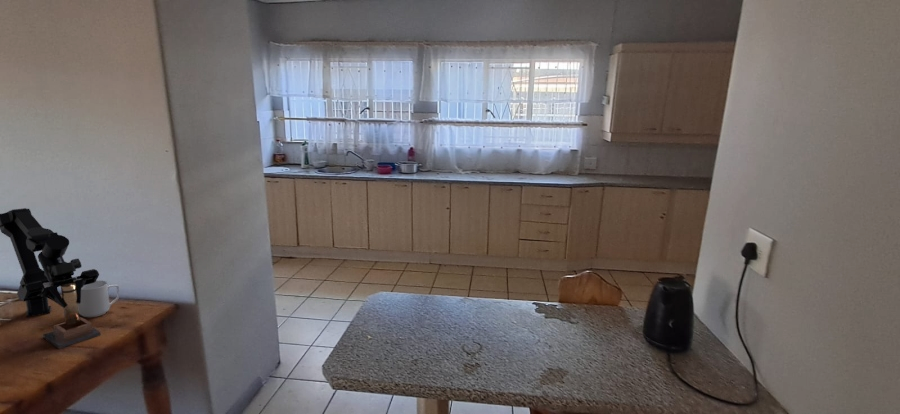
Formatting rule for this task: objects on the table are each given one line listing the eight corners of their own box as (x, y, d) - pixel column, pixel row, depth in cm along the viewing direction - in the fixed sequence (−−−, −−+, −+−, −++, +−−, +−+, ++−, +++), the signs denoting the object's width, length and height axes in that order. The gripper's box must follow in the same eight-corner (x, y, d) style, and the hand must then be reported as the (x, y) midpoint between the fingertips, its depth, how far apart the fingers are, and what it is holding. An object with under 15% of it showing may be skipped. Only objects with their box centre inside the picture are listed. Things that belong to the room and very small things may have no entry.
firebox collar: (43, 337, 142) (41, 326, 141) (84, 324, 151) (83, 314, 150) (59, 348, 136) (57, 337, 135) (100, 334, 145) (99, 324, 145)
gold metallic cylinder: (66, 320, 144) (62, 284, 141) (80, 319, 146) (76, 282, 143) (64, 325, 141) (59, 288, 138) (78, 323, 142) (74, 286, 140)
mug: (80, 320, 154) (76, 291, 152) (78, 311, 160) (75, 283, 158) (121, 312, 162) (119, 284, 160) (119, 304, 168) (116, 277, 166)
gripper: (20, 259, 132) (39, 302, 129) (94, 246, 148) (112, 284, 145) (14, 277, 138) (32, 319, 135) (85, 263, 154) (103, 300, 151)
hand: (72, 305), depth 141 cm, fingers closed on gold metallic cylinder, 4 cm apart
